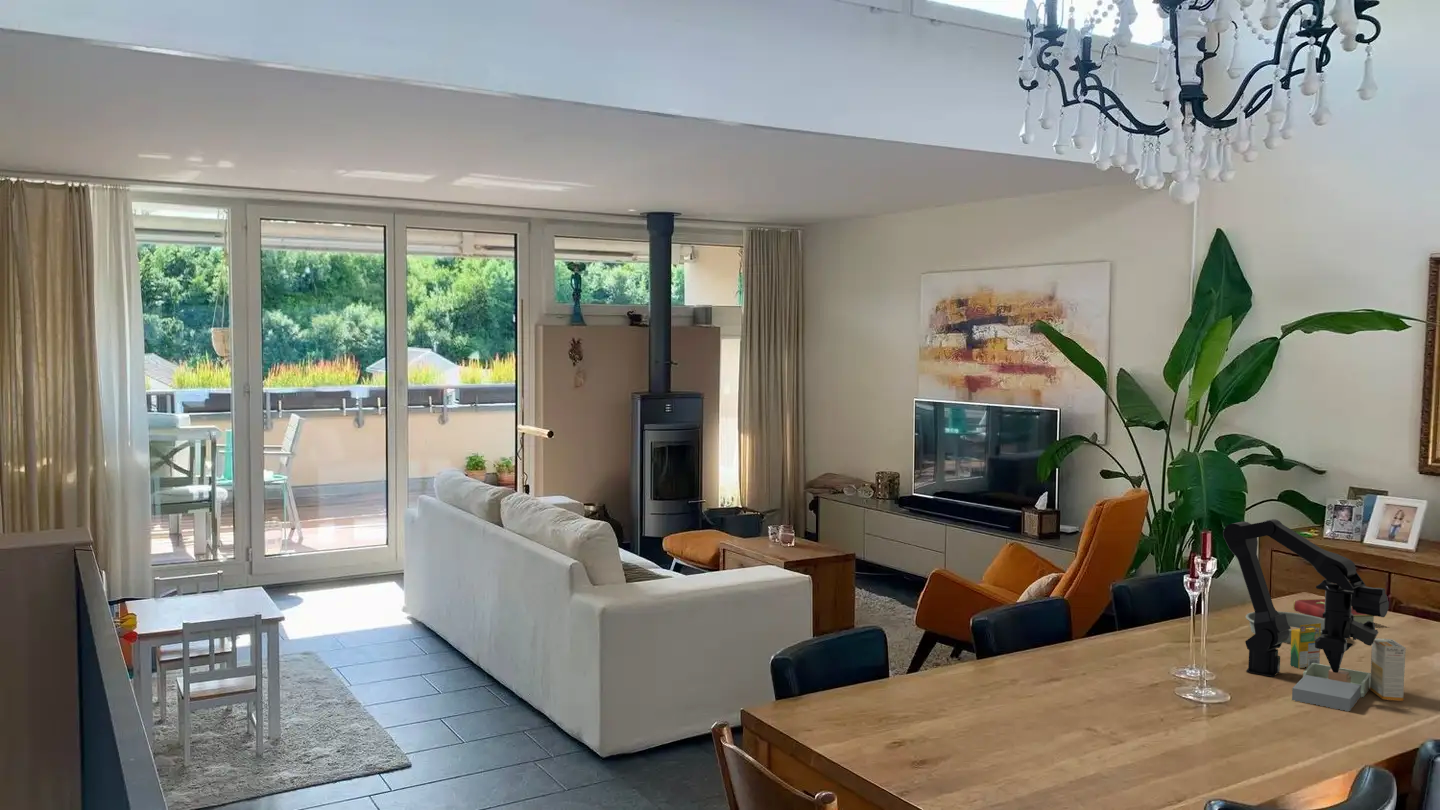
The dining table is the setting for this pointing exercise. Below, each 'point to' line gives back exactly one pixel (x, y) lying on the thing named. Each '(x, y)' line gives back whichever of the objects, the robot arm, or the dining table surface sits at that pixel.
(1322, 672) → the box
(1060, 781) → the dining table surface
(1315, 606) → the hardcover book
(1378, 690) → the supplement box
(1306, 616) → the cake pan
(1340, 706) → the grey base plate
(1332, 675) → the tile
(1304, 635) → the crayon box
